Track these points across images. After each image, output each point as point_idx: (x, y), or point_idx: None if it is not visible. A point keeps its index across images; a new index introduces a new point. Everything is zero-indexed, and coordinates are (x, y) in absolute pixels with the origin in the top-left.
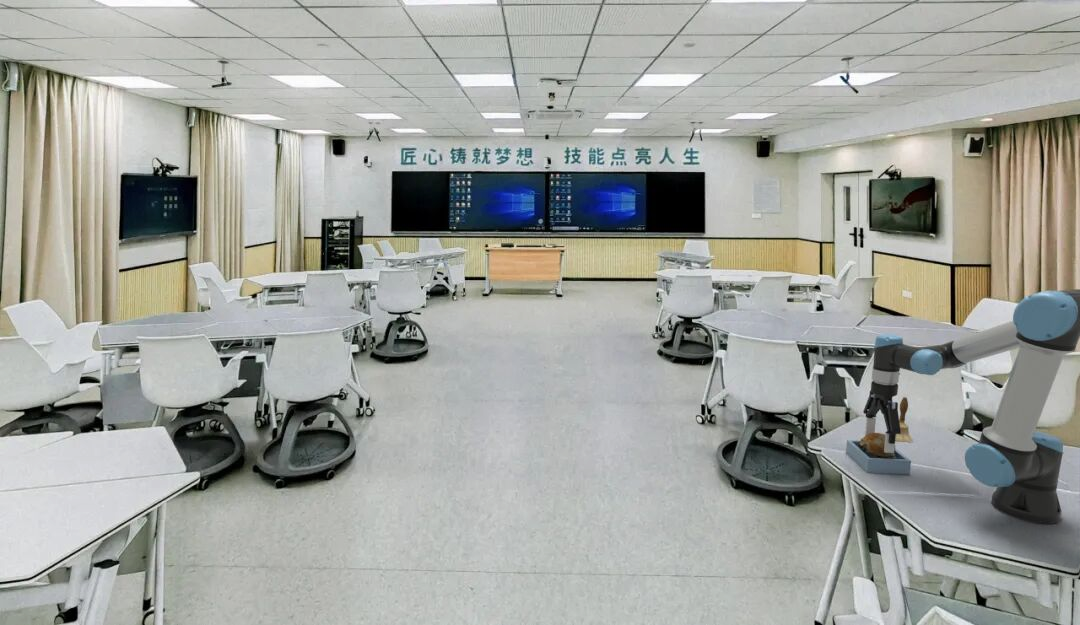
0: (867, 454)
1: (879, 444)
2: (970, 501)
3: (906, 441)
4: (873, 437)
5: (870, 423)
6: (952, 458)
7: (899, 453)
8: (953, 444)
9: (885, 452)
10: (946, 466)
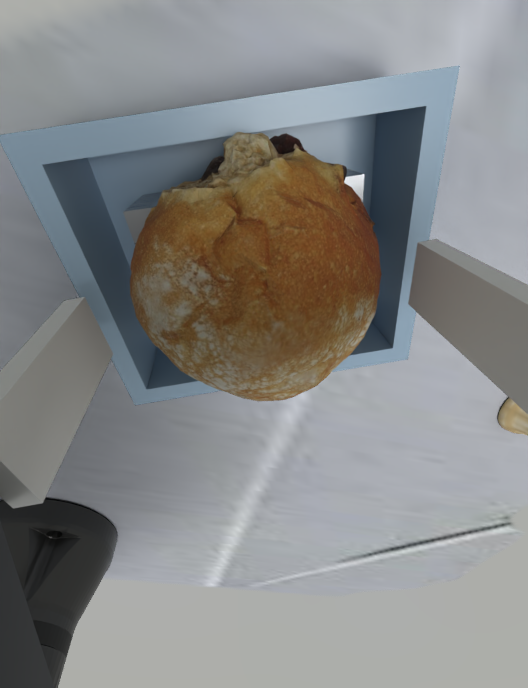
0: None
1: (138, 292)
2: None
3: (502, 415)
4: (238, 275)
5: (499, 331)
6: (363, 482)
7: None
8: (460, 498)
9: (65, 302)
10: (299, 462)
